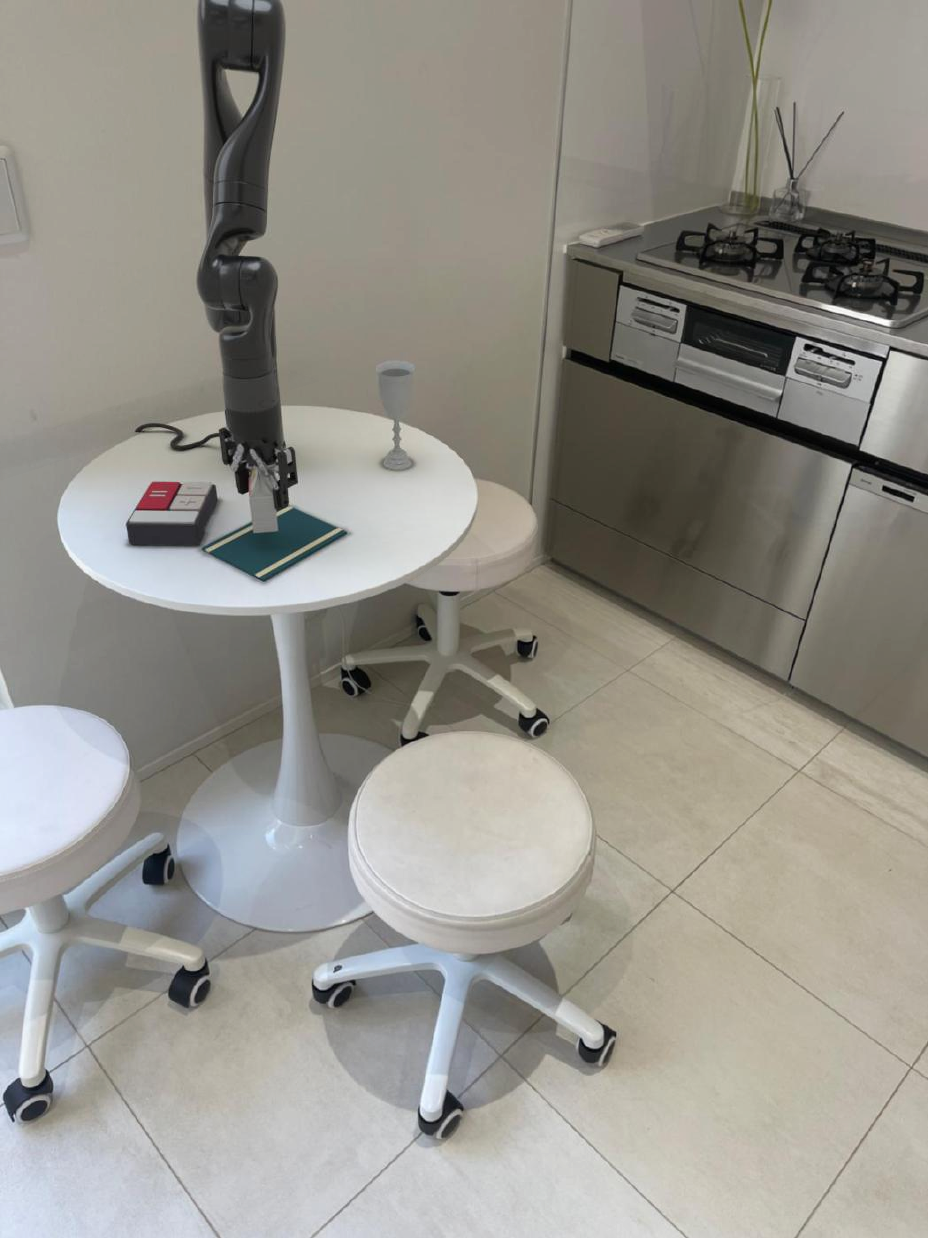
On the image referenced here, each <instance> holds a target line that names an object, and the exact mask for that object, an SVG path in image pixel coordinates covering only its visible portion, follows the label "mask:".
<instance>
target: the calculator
mask: <svg viewBox="0 0 928 1238" xmlns="http://www.w3.org/2000/svg"><path fill="white" fill-rule="evenodd" d="M218 500H219V499H218V491H217V485H216V484H215V483H212V482H210V481H209V482H208V481H184V482H183V483H181V481H152V482H150V484H149V485H148V487H147V488H146V489H145V492H144V494H143V495H142V497H141V498H140V500H139V502H138V503H137V504H136V506H135V508H134V509H133V511H132V513H131V514H130V516H129V518H128V519H127V521H126V522H125V528H126V533H127V537H128V543H129V544H130V545H152V546H153V545H160V546H161V545H162V546H168V545H169V546H199V545H200V544H201V542H202V540H203V538H204V536H205V532H206V527H207V524H208V523H209V521H210V518H211V516H212V513H213V512H214V509H215V507H216V505H217V503H218Z"/></svg>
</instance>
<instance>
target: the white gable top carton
mask: <svg viewBox="0 0 928 1238" xmlns="http://www.w3.org/2000/svg"><path fill="white" fill-rule="evenodd" d="M249 473H250V475H249V478H248V480H249V492H248V500H249V509H250V516H251V517H250V518H251V522H252V525H253V533H262V532H274V531H278V525H277V513H276V509H275V508H274V499H273V486H272V484H271V483H270V481H269V479H268V477H265V476H264V475H263V473H262V472H261V470H260V468H259V467H256V466H255V465H253V468H252V470H250V472H249Z"/></svg>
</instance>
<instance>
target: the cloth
mask: <svg viewBox="0 0 928 1238" xmlns="http://www.w3.org/2000/svg"><path fill="white" fill-rule="evenodd" d="M276 513H277V525H278V531H274V532H262V533H253V525H252V521H250V522H248V523H246V524H244V525H243V526H240V527H239V528H237V529H235V530H233V531H231V532H229V533H227V534H225V535H223V536H221V537H220V538H217V539H216V540H213V541H212V542H209V543H208V544H206V545H204V546H202V547H201V551H203V552H205V553H207V554H209V555H210V556H212V557H215V558H217V559H218V560H221V561H223V562H225V563H226V564H228V565H230V566H233V567H235V568H236V569H239V570H240V571H242V572H244V573H246V574H249V575H250V576H252V577H254V578H256V579H258V580H260V581H262V582H266V581H267V580H269V579H271V578H272V577H275V575H278V574H280V573H282V572H283V571H285V570H287V569H288V568H290V567H292V566H294V565H295V564H297V563H298V562H301V561H302V560H303V559H306V558H307V557H309V556H311V555H312V554H314V553H317V552H318V551H319V550H322V549H323V548H325V547H326V546H328V545H330V544H332V543H333V542H335V541H337V540H339V539H340V538H343V537H344V536H345V535H347V534H348V531H347V530H344V529H342V528H340V527H337V526H335V525H333V524H331V523H328V522H326V521H325V520H324V521H323V520H321V519H320V518H317V517H315V516H313V515H311V514H308V513H306V512H303V511H302V510H299V509H297V508H295V507H293V506H291V505H288V506H287V507H286V508H284V509H283V510H281V511H278V510H276Z"/></svg>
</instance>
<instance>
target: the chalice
mask: <svg viewBox="0 0 928 1238" xmlns="http://www.w3.org/2000/svg"><path fill="white" fill-rule="evenodd" d="M375 371H376V373H377V375H378V392H379V393H378V395H379V396H378V397H379V399H380V401H381V404H382V407H383V409H384V411H385V413H386V415H387V417H388V419H389V420H391V421H393V428H392V429H391V430H392V431H393V434H394V435H393V437H392V438H391V440H392V441H393V444H394V447H393V448H392V449H390V450H389V451H388V452H387V453H386V457H385V460H384V461H383V466H384V467H385V469H389V470H393V471H400V470H405V469H408V468H410V467H411V465H412V462H411V460H410V457H409V456H408V453H407V451H406V450H404V449H402V448H401V446H400V444H401V441H402V440H403V439H402V437H401V435H400V433H401V431H402V428H401V425H400V420H403V419H404V418H405V416H406V414H407V412H408V410H409V408H410V405H411V402H412V399H413V395H414V373H415V371H416V366H415V365H414V364H413V363H411V362H409V361H404V360H387V361H383V362H381V363H379V364H378V365H376V367H375Z"/></svg>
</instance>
